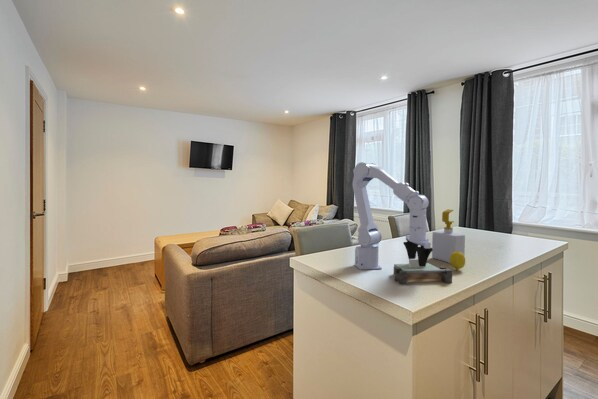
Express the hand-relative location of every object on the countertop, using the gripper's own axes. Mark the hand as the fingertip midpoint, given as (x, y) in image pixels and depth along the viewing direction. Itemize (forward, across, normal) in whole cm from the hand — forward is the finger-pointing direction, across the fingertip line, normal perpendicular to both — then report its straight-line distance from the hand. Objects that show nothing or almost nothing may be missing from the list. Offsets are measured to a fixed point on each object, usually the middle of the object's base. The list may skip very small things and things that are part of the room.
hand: (416, 263), depth 105 cm
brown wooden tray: (+5, -1, 0) cm, 6 cm away
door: (+2, 0, 0) cm, 2 cm away
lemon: (+6, +7, -21) cm, 23 cm away
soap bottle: (+6, +21, -26) cm, 34 cm away
